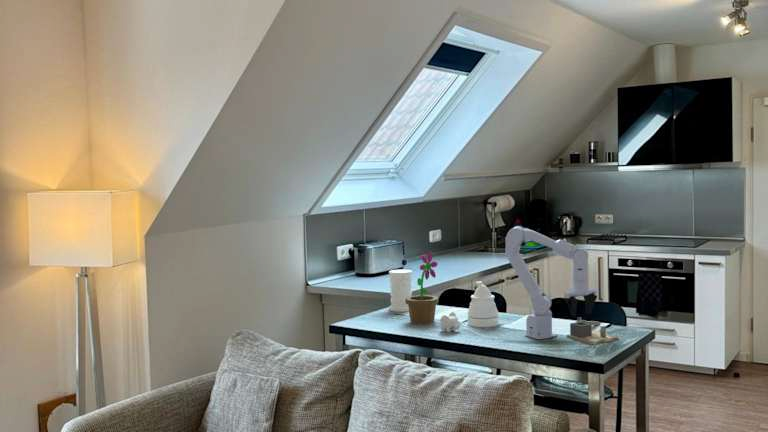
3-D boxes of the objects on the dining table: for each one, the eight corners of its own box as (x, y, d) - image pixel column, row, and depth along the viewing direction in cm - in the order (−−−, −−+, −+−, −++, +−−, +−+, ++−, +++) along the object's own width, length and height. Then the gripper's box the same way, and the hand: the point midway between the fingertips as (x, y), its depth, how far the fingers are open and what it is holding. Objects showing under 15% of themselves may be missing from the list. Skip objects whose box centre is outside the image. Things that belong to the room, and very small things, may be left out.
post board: (590, 344, 272) (590, 331, 272) (566, 337, 284) (566, 324, 283) (618, 339, 279) (618, 326, 278) (594, 332, 290) (593, 320, 290)
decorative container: (395, 312, 339) (394, 273, 337) (385, 308, 349) (384, 270, 348) (418, 310, 343) (417, 271, 342) (407, 305, 354) (406, 268, 353)
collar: (580, 337, 279) (580, 326, 278) (570, 334, 284) (570, 323, 283) (591, 335, 281) (591, 324, 281) (581, 332, 286) (581, 321, 286)
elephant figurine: (456, 334, 293) (456, 316, 293) (435, 331, 299) (435, 314, 298) (465, 330, 300) (465, 313, 299) (444, 328, 305) (444, 311, 305)
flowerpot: (445, 321, 317) (444, 252, 315) (419, 326, 309) (417, 255, 306) (425, 316, 329) (423, 249, 326) (399, 321, 320) (397, 252, 318)
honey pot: (484, 328, 303) (483, 285, 301) (461, 323, 312) (460, 281, 311) (504, 323, 311) (504, 281, 310) (481, 319, 321) (480, 278, 319)
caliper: (578, 334, 290) (578, 318, 289) (575, 333, 291) (575, 317, 290) (600, 324, 306) (600, 309, 305) (597, 324, 307) (597, 308, 306)
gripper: (573, 282, 274) (573, 318, 275) (602, 279, 281) (602, 314, 282) (560, 280, 280) (560, 315, 281) (589, 276, 287) (589, 311, 288)
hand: (580, 314), depth 282 cm, fingers open, 7 cm apart
